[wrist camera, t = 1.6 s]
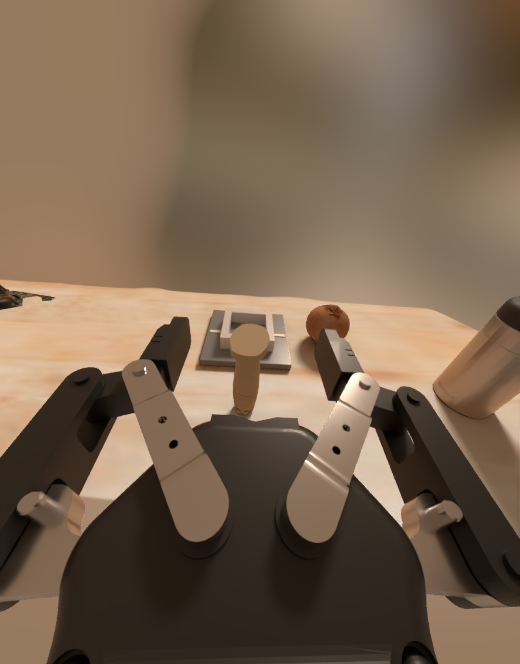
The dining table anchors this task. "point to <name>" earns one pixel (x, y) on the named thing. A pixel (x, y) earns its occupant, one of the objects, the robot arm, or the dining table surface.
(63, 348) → the dining table surface
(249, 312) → the square socket base
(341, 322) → the onion
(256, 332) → the handle
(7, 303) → the eiffel tower figurine
